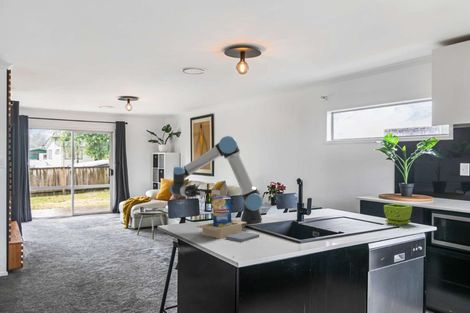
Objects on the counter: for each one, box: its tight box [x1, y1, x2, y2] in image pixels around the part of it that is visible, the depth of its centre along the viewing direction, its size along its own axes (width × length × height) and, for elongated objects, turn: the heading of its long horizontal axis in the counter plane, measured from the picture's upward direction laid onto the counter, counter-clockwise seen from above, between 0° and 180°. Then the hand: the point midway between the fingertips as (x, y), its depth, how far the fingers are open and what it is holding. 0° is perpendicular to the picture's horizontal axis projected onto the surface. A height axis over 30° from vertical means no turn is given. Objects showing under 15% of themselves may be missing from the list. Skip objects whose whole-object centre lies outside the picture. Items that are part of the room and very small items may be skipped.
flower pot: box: [383, 203, 413, 226], centre depth 248 cm, size 14×14×13 cm
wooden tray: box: [196, 219, 248, 240], centre depth 215 cm, size 29×15×6 cm, turn 139°
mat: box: [225, 231, 260, 243], centre depth 205 cm, size 16×12×2 cm
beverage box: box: [212, 196, 232, 228], centre depth 214 cm, size 7×11×22 cm, turn 95°
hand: (212, 193), depth 221 cm, fingers open, 13 cm apart
